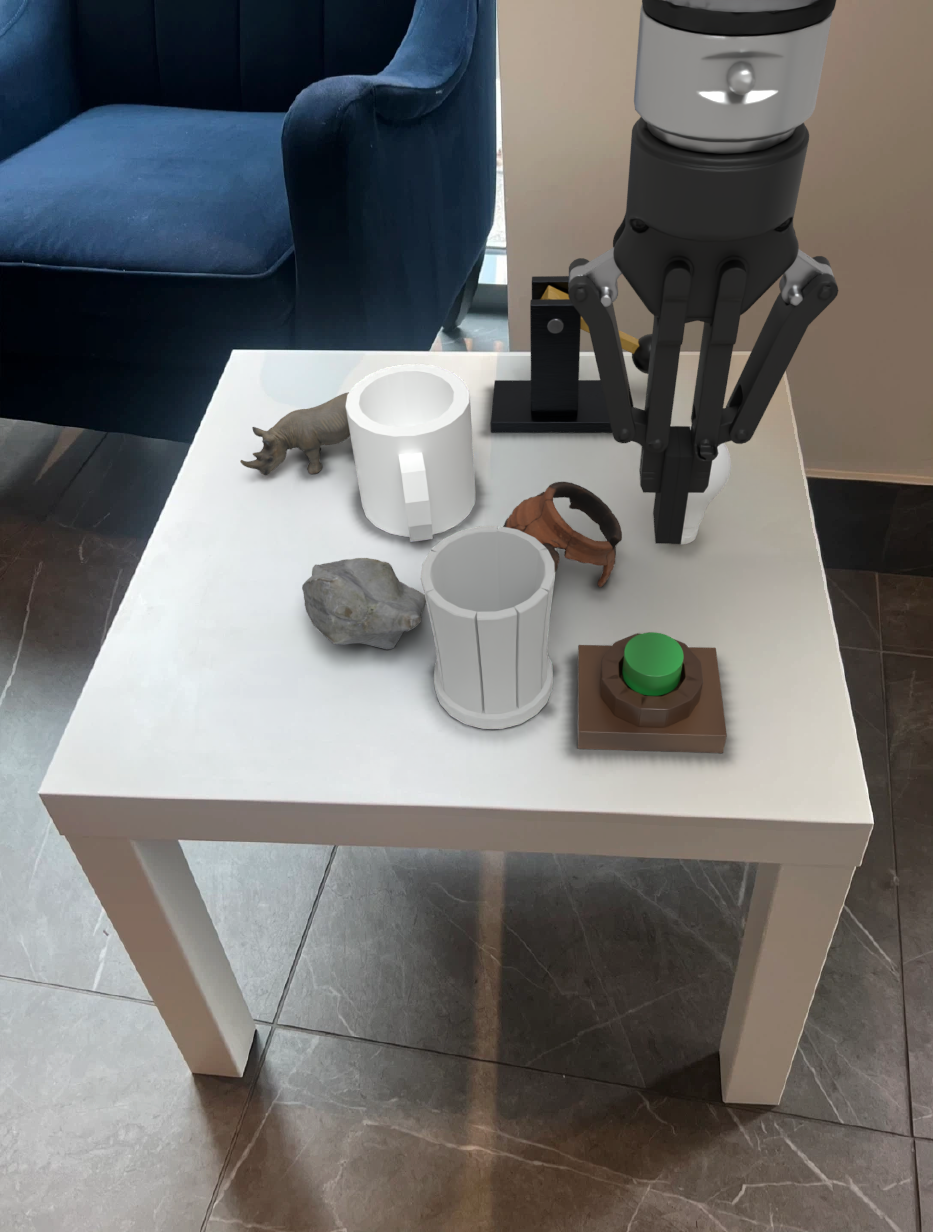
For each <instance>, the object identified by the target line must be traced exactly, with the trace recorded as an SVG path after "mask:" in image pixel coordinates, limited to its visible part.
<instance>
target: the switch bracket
mask: <svg viewBox="0 0 933 1232" xmlns="http://www.w3.org/2000/svg"><path fill="white" fill-rule="evenodd" d="M568 278H569V275H548V276H547V275H542V276H533V275H532V276H531V299H530V304H529V310H530V311H529V315H530V316H529V319H530V321H529V322H530V323H529V324H530V325H529V326H530V327H529V329H530V330H529V331H530V332H529V333H530V336H529V337H530V339H529V340H530V380H529V379H523V380H522V379H511V380H509V379H501V380H500V379H498V380H497V379H495V380H494V384H493V392H492V402H491V403H492V404H491V413H490V433H531V434H532V433H534V434H535V433H537V434H539V433H543V434H545V433H549V434H550V433H552V434H553V433H555V434H556V433H557V434H558V433H566V434H568V433H570V434H571V433H573V434H575V433H576V434H577V433H578V434H580V433H583V434H585V433H586V434H587V433H589V434H590V433H591V434H592V433H593V434H597V433H599V434H604V433H605V434H611V433H612V429H611V425H610V420H609V416H608V412H607V407H606V403H605V398H604V394H603V389H602V385H601V381H600V379H580V354H581V330H582V329H581V315H580V314H579V313H578V311H577V310H576V308H575V307H574V305H573V304H572V303H571V301H570V299H542V300H540V299H541V298H542V296H543V294H544V292H545V291H546V289H547V287H548V286H551V287H554V288H556V289H558V290H560V291H562V292H564V293H566V294H568V295H569V287H568Z"/></svg>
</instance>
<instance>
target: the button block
mask: <svg viewBox="0 0 933 1232" xmlns="http://www.w3.org/2000/svg"><path fill="white" fill-rule="evenodd" d="M639 634H641V633H640V632H639V633H634V634H631V635H630V636H627V637H624V638H622V639H620V640H617V641H615V642H614V643H612V645H609V644H608V645H605V644H604V645H601V644H578V648H577V649H578V650H577V749H579V750H609V751H614V750H615V751H641V752H642V751H643V752H645V751H646V752H672V753H673V752H677V753H709V754H714V753H715V754H723V753H724V750H725V746H726V742H727V737H728V734H727V727H726V718H725V717H726V716H725V710H724V703H723V693H722V687H721V678H720V670H719V663H718V655H717V648H716V647H700V646H699V647H697V646H688V645H687V644H686V643H684V642H682V641H680V640H678V639H675V638H673V639H674V640H675V641H676V642H677V643H678V644H679V645H680V646H681V648H682V650H683V655H684V658H683V664H682V671H681V677H680V681H679V683H678V685H677V686H676V688H675V689H674V690H672V691H671V692H669V693H667V694H664V695H660V696H647V695H643V694H640V693H638V692H636V691H634V690H633V689H631V688H630V687H629V686H628V685H627V684H626V682H625V680H624V678H623V673H622V671H623V660H624V650H625V647H626V645H627V643H628V642H629V641H630V640H631V639H632V638H633V637H635V636H637V635H639Z"/></svg>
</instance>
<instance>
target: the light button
mask: <svg viewBox="0 0 933 1232" xmlns="http://www.w3.org/2000/svg"><path fill="white" fill-rule="evenodd" d="M674 639H675V638H673V637H672V636H669V635H667V634H664V633H662V632H656V631H655V632H654V631H651V632H650V631H649V632H642V633H640V634H639V635H637V636H635V637H633V638H632V639H631V640H630V641H629V642H628V643H627V645H626V647H625V650H624V660H623V671H622V673H623V678H624V680H625V682H626V684H627V685H628V686H629V687H630V688H631V689H633V690H634V691H636V692H638V693H640V694H643V695H647V696H660V695H664V694H667V693H669V692H671V691H672V690H674V689H675V688H676V686H677V685H678V683H679V681H680V677H681V671H682V664H683V658H684V655H683V650H682V648H681V646H680V645H679V644H678V643H677V642H676V641H675V640H676V639H675V640H674Z"/></svg>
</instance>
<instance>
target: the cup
mask: <svg viewBox="0 0 933 1232" xmlns="http://www.w3.org/2000/svg"><path fill="white" fill-rule="evenodd" d="M555 580H556V572H555V566H554V561H553V559H552V557H551V555H550V553H549V551H548V550H547V549H546V547H545V546H544V545H542V544H541V543H540V542H539V541H538V540H537V539H536V538H534V537H532V536H530V535H528V534H526V533H524V532H522V531H520V530H517V529H512V528H507V527H503V526H502V525H500V526H498V525H478V526H474V527H470V528H466V529H462V530H458V531H456V532H454V533H452V534H450V535H448V536H446V537H443V539H441V540H440V541H439V542H438V543H436V545H434V546H433V547H432V548H431V549H430V551H428V552H427V554H426V557H425V559H424V560H423V562H422V564H421V572H420V581H421V586H422V591H423V594H424V595H425V599H426V607H427V611H428V616H429V621H430V626H431V630H432V631H431V632H432V635H433V641H434V647H435V654H436V661H435V664H434V672H433V685H434V691H435V694H436V696H437V701H438V702H439V705H440V706H442V708H443V709H444V710H445V711H446V712H447V714H448V715H449V716H451V717H452V718H454V719H455V720H457V721H459V722H461V723H462V724H464V725H466V726H470V727H474V728H478V729H481V730H504V729H507V728H510V727H514V726H518V725H522V724H523V723H525V722H527V721H528V720H530V719H532V718H533V717H535V716H536V715H538V714H539V712H540V711H541V710H542V709H543V708H544V707H545V706H546V704H548V701H549V699H550V697H551V694H552V691H553V689H554V673H553V663H552V660H551V658H550V656H549V654H548V649H549V630H550V621H551V612H552V610H551V609H552V603H553V602H552V601H553V595H554V587H555Z"/></svg>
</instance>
